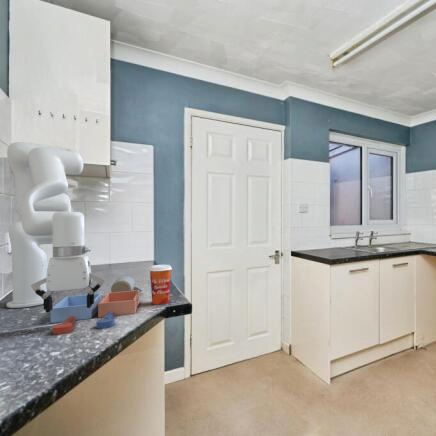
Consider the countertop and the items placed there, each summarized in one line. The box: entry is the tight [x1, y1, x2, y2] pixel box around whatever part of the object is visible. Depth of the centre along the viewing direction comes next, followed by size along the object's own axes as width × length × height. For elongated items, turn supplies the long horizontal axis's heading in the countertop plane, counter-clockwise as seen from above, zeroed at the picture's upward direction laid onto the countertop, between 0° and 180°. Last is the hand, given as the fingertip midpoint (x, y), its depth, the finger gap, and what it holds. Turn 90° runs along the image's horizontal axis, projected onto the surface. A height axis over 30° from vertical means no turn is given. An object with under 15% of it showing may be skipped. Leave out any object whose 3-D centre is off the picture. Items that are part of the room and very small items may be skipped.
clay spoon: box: [52, 316, 76, 335], centre depth 92 cm, size 11×4×2 cm, turn 26°
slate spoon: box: [95, 312, 115, 330], centre depth 97 cm, size 11×4×2 cm, turn 26°
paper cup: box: [148, 264, 173, 306], centre depth 119 cm, size 8×8×14 cm
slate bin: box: [50, 292, 103, 324], centre depth 105 cm, size 16×10×4 cm, turn 26°
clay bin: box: [97, 290, 141, 319], centre depth 111 cm, size 16×10×4 cm, turn 26°
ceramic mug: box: [110, 275, 143, 296], centre depth 129 cm, size 11×8×8 cm
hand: (69, 309), depth 94 cm, fingers open, 9 cm apart
